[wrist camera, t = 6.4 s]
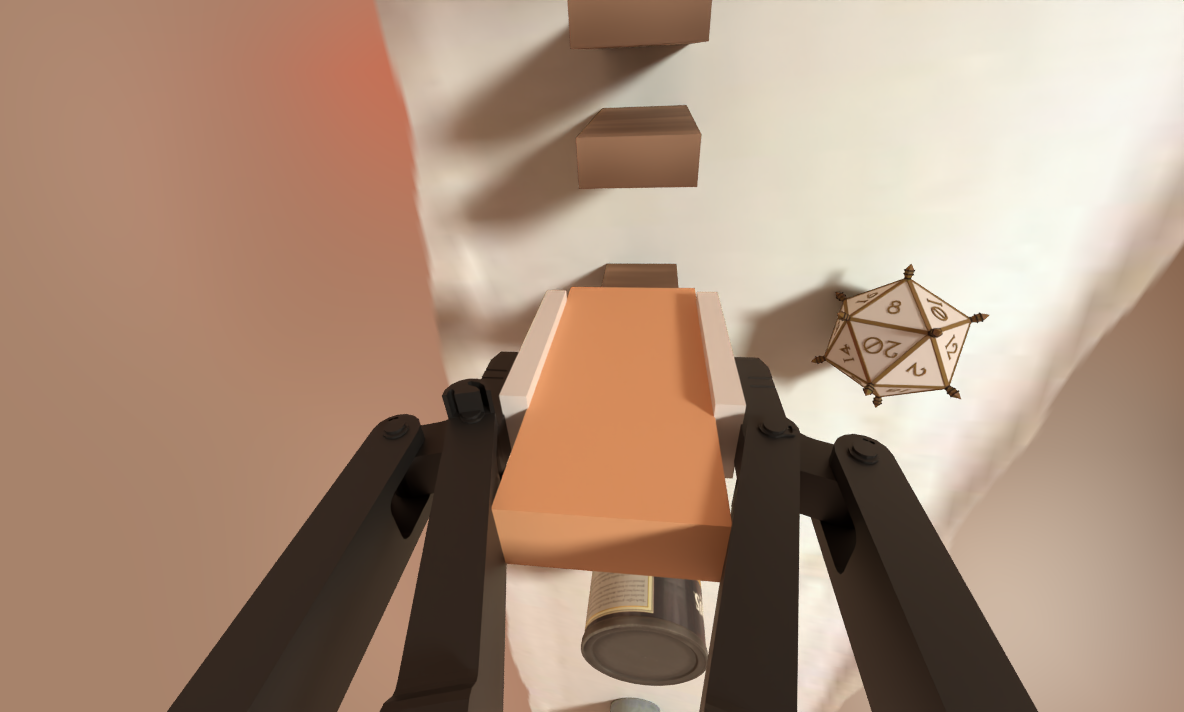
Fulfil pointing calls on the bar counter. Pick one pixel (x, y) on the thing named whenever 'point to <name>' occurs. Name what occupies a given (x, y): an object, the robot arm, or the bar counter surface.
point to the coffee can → (645, 628)
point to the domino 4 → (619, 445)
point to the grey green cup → (633, 705)
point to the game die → (898, 339)
